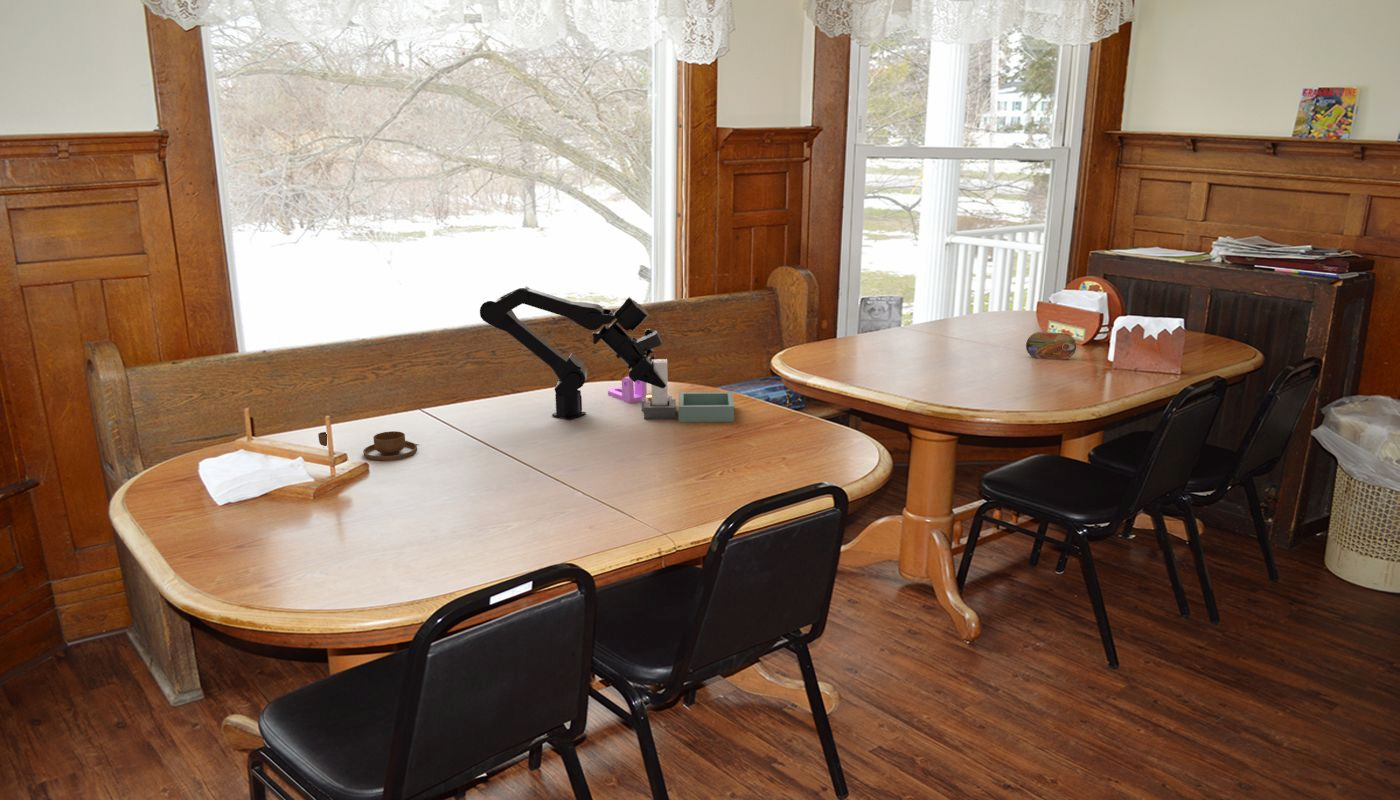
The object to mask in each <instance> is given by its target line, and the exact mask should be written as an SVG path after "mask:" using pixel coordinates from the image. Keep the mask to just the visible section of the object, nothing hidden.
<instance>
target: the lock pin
mask: <svg viewBox="0 0 1400 800" xmlns="http://www.w3.org/2000/svg"><path fill="white" fill-rule="evenodd" d="M653 361H654V370H655V371H656V373H657V374H658V375H659V377H660V378H661V379H662V381H663V382H664V383H665V385H666V387H665V388H664V389H663V388H660V387H657V386H654V385H652V384H650V386H651V393H652V406H668V396H669V393H668V392H669V391H668V359H667V358H665V359H664V358H663V359H662V358H659V359H658V358H657V359H656V358H655V359H652V360H651V362H653Z"/></svg>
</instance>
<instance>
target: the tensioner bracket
mask: <svg viewBox="0 0 1400 800" xmlns="http://www.w3.org/2000/svg"><path fill="white" fill-rule="evenodd" d="M640 404H641V405H640V407H641V411H642V412H643V420H675V419H676V415H677V412H676V408H677V406H676V404H677V403H676V399H673V396H669V395H668V406H652V392H650V393H649V392H648V393H647V394H646V395H645V397H642V400H641V401H640Z"/></svg>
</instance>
